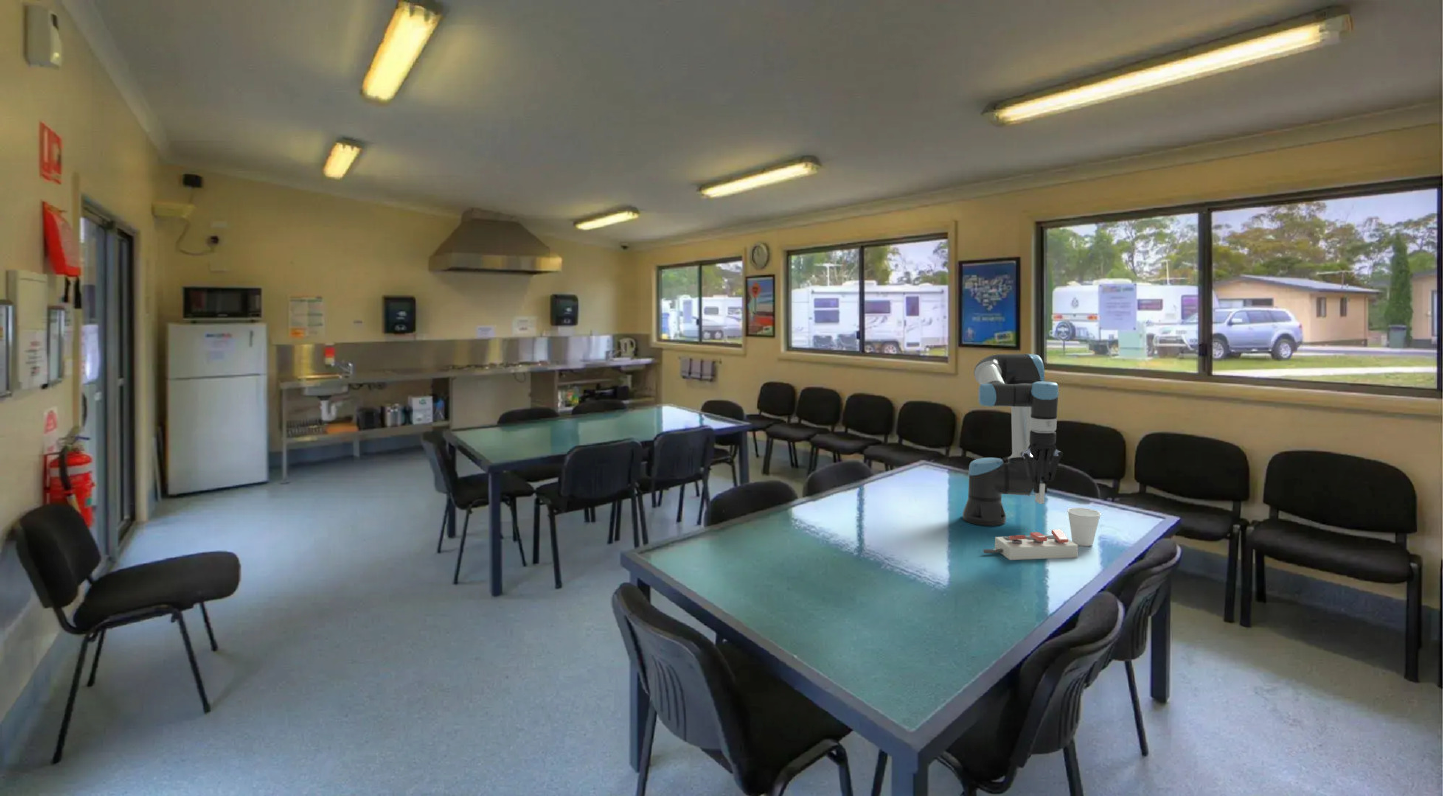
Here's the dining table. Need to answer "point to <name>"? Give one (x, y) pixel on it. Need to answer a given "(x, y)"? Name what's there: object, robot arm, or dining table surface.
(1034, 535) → the rocker
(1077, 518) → the cup
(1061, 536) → the rocker
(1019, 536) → the rocker
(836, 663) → the dining table surface
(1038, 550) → the strip
